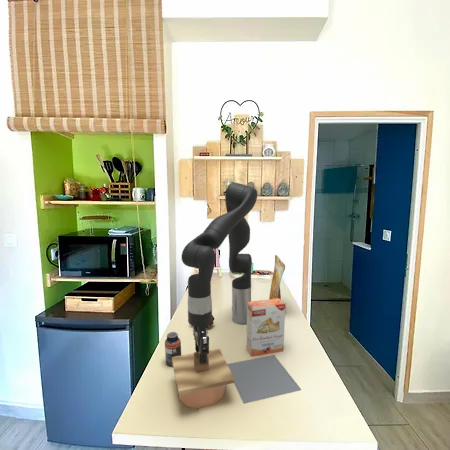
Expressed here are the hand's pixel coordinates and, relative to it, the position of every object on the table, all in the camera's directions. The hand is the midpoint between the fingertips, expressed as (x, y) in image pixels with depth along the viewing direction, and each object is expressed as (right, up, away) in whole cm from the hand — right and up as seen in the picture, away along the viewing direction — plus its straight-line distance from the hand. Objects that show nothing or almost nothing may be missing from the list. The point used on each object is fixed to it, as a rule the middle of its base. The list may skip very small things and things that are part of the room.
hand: (200, 356), depth 94 cm
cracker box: (+24, -9, +23) cm, 34 cm away
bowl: (0, -12, +2) cm, 12 cm away
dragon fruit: (-3, -6, +43) cm, 44 cm away
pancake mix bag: (+34, -3, +60) cm, 69 cm away
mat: (+20, -11, +8) cm, 24 cm away
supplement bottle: (-12, -10, +17) cm, 23 cm away
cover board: (0, -5, +1) cm, 5 cm away
